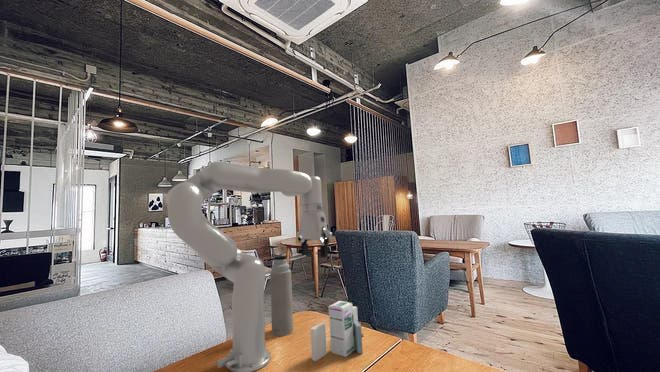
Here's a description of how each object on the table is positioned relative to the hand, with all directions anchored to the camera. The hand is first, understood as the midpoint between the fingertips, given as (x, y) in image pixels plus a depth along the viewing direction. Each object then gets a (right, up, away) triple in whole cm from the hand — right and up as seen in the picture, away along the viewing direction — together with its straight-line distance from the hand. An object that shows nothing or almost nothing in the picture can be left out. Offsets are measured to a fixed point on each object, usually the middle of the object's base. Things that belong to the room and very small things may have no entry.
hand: (314, 255), depth 101 cm
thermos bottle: (-12, -30, +2) cm, 32 cm away
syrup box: (+10, -27, -15) cm, 32 cm away
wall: (+8, -27, -11) cm, 30 cm away
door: (+15, -26, -10) cm, 32 cm away
